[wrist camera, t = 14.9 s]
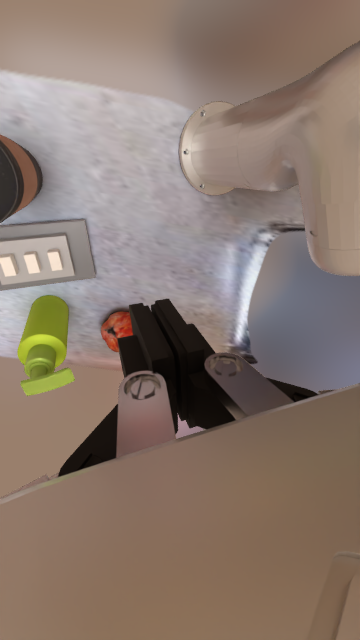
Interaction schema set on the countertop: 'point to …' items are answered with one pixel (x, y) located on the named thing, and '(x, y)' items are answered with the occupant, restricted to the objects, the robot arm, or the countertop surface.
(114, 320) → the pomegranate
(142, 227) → the countertop surface
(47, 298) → the soap dispenser
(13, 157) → the travel mug
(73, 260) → the breaker panel
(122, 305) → the countertop surface
